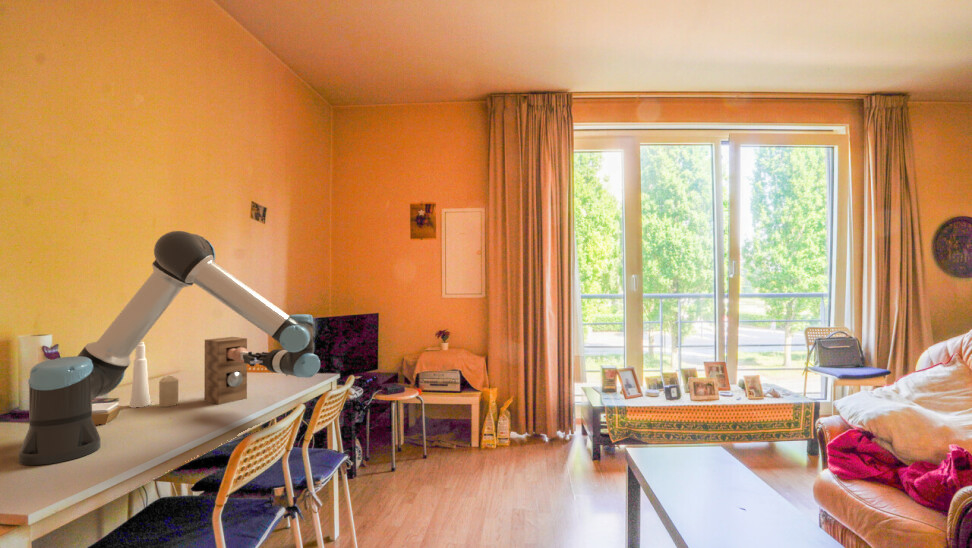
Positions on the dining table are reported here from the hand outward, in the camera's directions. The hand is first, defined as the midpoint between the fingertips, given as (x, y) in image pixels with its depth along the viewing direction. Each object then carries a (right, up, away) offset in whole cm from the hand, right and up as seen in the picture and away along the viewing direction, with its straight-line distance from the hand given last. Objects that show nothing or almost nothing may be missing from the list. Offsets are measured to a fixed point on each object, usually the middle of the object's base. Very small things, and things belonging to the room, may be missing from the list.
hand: (242, 355), depth 163 cm
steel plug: (-8, -12, +5) cm, 15 cm away
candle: (-25, -17, -2) cm, 30 cm away
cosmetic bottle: (-34, -17, -2) cm, 38 cm away
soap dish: (-35, -17, -21) cm, 45 cm away
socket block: (-9, -17, +5) cm, 20 cm away
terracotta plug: (-5, -3, +3) cm, 6 cm away
